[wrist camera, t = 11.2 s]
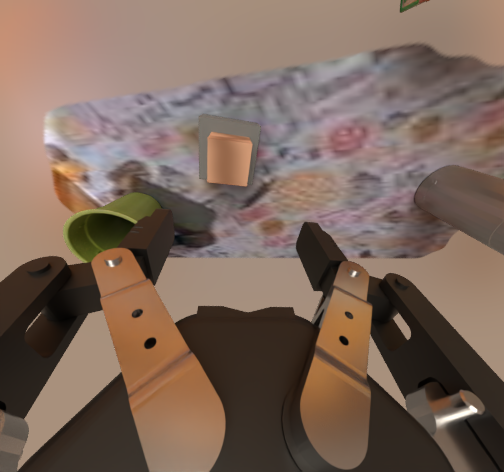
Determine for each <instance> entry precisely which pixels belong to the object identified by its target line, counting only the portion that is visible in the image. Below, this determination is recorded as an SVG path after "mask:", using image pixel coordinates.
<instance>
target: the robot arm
mask: <svg viewBox="0 0 504 472" xmlns="http://www.w3.org/2000/svg"><path fill="white" fill-rule="evenodd" d="M415 203H416V205H417V206H418V207H420V208H422V209H423V210H425V211H427V212H429V213H430V214H432V215H434V216H436V217H437V218H439V219H441V220H443V221H444V222H446V223H448V224H450V225H451V226H453V227H455V228H457V229H458V230H460V231H462V232H464V233H465V234H467V235H469V236H471V237H473V238H474V239H476V240H478V241H480V242H481V243H483V244H485V245H487V246H488V247H490V248H492V249H494V250H496V251H498V252H499V253H501V254H503V255H504V179H501V178H498V177H494V176H491V175H487V174H484V173H481V172H478V171H474V170H471V169H467V168H464V167H460V166H456V165H451V166H446V167H443V168H441V169H439V170H437V171H435V172H434V173H432V174H431V175H430V176H428V177H427V178H426V179H425V180H424V181H423V183H422V184H421V185H420V187H419V188H418V190H417V192H416V195H415ZM173 242H174V224H173V215H172V211H171V210H170V209H159V208H157V209H155V211H154V212H153V214H152V215H151V216H145V217H144V218H142V219H140V220H138V221H137V223H136V224H135V225H134V227H133V228H132V229H131V230H130V232H129V233H128V234H127V235H126V236H125V238H124V239H123V240H122V241H121V243H120V244H119V245H118V246H117V248H113V249H109V250H106V251H103V252H101V253H100V254H98V255H97V256H96V257H94V259H93V260H92V262H87V263H81V264H74V265H67V263H66V261H65V260H64V259H63V258H61V257H57V256H49V257H42V258H38V259H35V260H32V261H29V262H27V263H25V264H23V265H21V266H20V267H18V268H17V269H16V270H15V271H13V272H12V273H11V274H10V275H9V276H7V277H6V278H5V279H4V280H3V281H1V282H0V472H504V382H503V381H502V380H501V379H500V378H499V377H498V376H497V374H496V373H495V372H494V371H493V370H492V369H491V368H490V367H489V366H488V365H487V364H486V362H485V361H484V360H483V359H482V358H481V357H480V356H479V355H478V354H477V353H476V352H475V351H474V350H473V348H472V347H471V346H470V345H469V344H468V343H467V342H466V341H465V340H464V339H463V338H462V337H461V335H460V334H459V333H458V332H457V331H456V330H455V329H454V328H453V327H452V326H451V325H450V323H449V322H448V321H447V320H446V319H445V318H444V317H443V316H442V315H441V314H440V313H439V311H438V310H437V309H436V308H435V307H434V306H433V305H432V304H431V303H430V302H429V301H428V300H427V298H426V297H425V296H424V295H423V294H422V293H421V292H420V291H419V290H418V289H417V288H416V286H415V285H414V284H413V283H412V282H410V281H409V280H408V279H406V278H404V277H402V276H400V275H398V274H394V273H389V274H387V275H386V276H385V277H384V278H383V279H379V278H375V277H372V276H369V274H368V272H367V271H366V270H365V269H364V268H363V267H361V266H360V265H359V264H357V263H354V262H351V261H348V260H347V258H346V257H345V256H344V254H343V253H342V251H341V250H340V249H339V247H337V244H336V243H334V240H333V239H332V238H331V236H330V235H328V234H327V233H326V232H325V231H323V230H322V229H321V228H320V226H319V225H318V223H313V222H304V223H303V226H302V228H301V231H300V234H299V237H298V239H297V243H296V250H297V252H298V255H299V257H300V259H301V262H302V264H303V267H304V269H305V271H306V274H307V276H308V278H309V280H310V283H311V285H312V288H313V290H314V291H322V292H323V295H322V297H321V299H320V301H319V304H318V306H317V309H316V311H315V314H314V317H313V319H312V321H311V322H310V321H308V320H306V319H304V318H302V317H299V316H297V315H295V314H294V310H293V307H269V308H265V309H261V310H257V311H253V312H243V311H239V310H235V309H231V308H227V307H224V306H198V311H197V314H194V315H191V316H188V317H185V318H184V319H181V320H179V321H178V322H176V323H174V321H173V320H172V318H171V316H170V314H169V313H168V311H167V309H166V307H165V306H164V303H163V302H162V300H161V298H160V296H159V295H158V293H157V291H156V289H155V287H154V286H153V285H155V284H156V282H157V279H158V276H159V275H160V272H161V270H162V267H163V265H164V263H165V261H166V258H167V256H168V254H169V251H170V249H171V247H172V244H173ZM100 310H103V311H104V315H105V318H106V321H107V325H108V328H109V331H110V335H111V338H112V341H113V345H114V348H115V351H116V354H117V358H118V361H119V364H120V368H121V371H122V372H121V373H120V374H119V375H118V376H117V377H115V378H114V379H113V380H112V381H111V382H110V383H109V384H108V385H107V386H106V387H105V388H104V389H103V390H102V391H101V392H99V394H97V395H96V396H95V397H94V398H93V399H92V400H91V401H90V402H89V403H88V404H87V405H86V406H85V407H84V408H82V409H81V410H80V411H79V412H78V413H77V414H76V415H75V416H74V417H73V418H72V419H71V420H70V421H69V422H68V423H66V424H65V425H64V426H63V427H62V428H61V429H60V430H59V431H58V432H57V433H56V434H55V435H54V436H53V437H52V438H51V439H49V440H48V441H47V442H46V443H45V444H44V445H43V446H42V447H41V448H40V449H39V450H38V451H37V452H36V453H35V454H34V455H33V456H31V457H30V458H29V459H28V460H27V462H26V463H25V464H24V465H23V466H22V467H21V468H20V469H19V470H18V471H17V467H18V461H19V460H20V458H21V456H22V453H23V448H24V446H25V443H26V441H27V438H28V432H29V428H28V424H27V422H26V421H25V420H24V418H25V417H26V415H27V413H28V412H29V410H30V408H31V407H32V405H33V404H34V402H35V400H36V398H37V397H38V395H39V394H40V392H41V390H42V389H43V387H44V386H45V384H46V382H47V381H48V379H49V377H50V376H51V374H52V372H53V371H54V369H55V367H56V365H57V364H58V362H59V361H60V359H61V358H62V356H63V354H64V352H65V351H66V349H67V348H68V346H69V344H70V343H71V341H72V339H73V338H74V336H75V334H76V333H77V331H78V330H79V328H80V326H81V324H82V323H83V321H84V320H85V318H86V317H87V315H88V313H92V312H96V311H100ZM40 312H41V314H40V316H39V317H38V318H37V319H36V321H35V322H34V323H33V325H32V326H31V327H30V328H29V329H28V330H27V328H28V326H29V325H30V324H31V323H32V322H33V320H34V319H35V318H36V317H37V316H38V314H39V313H40ZM398 313H399V314H400V315H401V316H402V318H403V319H404V320H405V322H406V323H407V325H408V326H409V328H410V330H411V337H410V339H409V340H407V339H406V338H405V336H404V335H403V333H402V332H401V330H400V329H399V327H398V326H397V324H396V323H395V321H394V320H393V318H394V316H396V315H397V314H398ZM26 330H27V332H26ZM25 332H26V333H25ZM370 334H371V336H372V338H373V340H374V342H375V343H376V346H377V348H378V349H379V351H380V353H381V355H382V357H383V359H384V361H385V363H386V364H387V366H388V368H389V370H390V372H391V374H392V376H393V377H394V379H395V381H396V383H397V385H398V387H399V389H400V391H401V393H402V394H403V396H404V398H405V400H406V408H407V411H406V410H405V409H404V408H403V407H402V406H401V405H400V404H399V403H398V402H397V401H396V400H395V399H394V398H392V396H390V395H389V394H388V393H387V392H386V391H385V390H384V389H383V388H382V387H381V386H380V385H379V384H378V383H377V382H376V381H374V380H373V379H372V378H371V377H370V376H369V375H368V374H367V366H368V353H369V340H370Z"/></svg>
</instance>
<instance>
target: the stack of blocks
mask: <svg viewBox="0 0 504 472" xmlns="http://www.w3.org/2000/svg"><path fill="white" fill-rule="evenodd" d="M425 1H426V2H427V1H429V0H401V3H400V12H401V13H402V12H404V11H406V10H408V9H410V8H412V7H414V6H417V5H419V4H421V3H423V2H425Z"/></svg>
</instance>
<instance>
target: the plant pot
mask: <svg viewBox="0 0 504 472" xmlns="http://www.w3.org/2000/svg"><path fill="white" fill-rule="evenodd" d="M157 208H159V209H162V208H161V206H160V204H159V203H158V202H157V201H156V200H155V199H154V198H152V197H151V196H149V195H146V194H142V193H130V194H127V195H125V196H123V197H121V198H119V199H117V200H115V201H113V202H111V203H109V204H107V205H105V206H103V207H100V208H97V209H91V210H85V211H81V212H78V213H76V214H74V215H73V216H71V217H70V218H69V219H68V220H67V221H66V223H65V225H64V228H63V235H64V240H65V243H66V245H67V247H68V248H69V250H70V251H71V252H72V253H73V254H74V255H75V256H76V257H77V258H78V259H80V260H81V261H82V262H84V263H87V262H92V260H93V259H94V257H96V256H97V255H98V254H100V253H101V252H103V251H106V250H109V249H113V248H117V246H118V245H119V244H120V243H121V241H122V240H123V239H124V238H125V236H126V235H127V234H128V233H129V232H130V230H131V229H132V228H133V227H134V225H135V224H136V223H137V221H138V220H140V219H142V218H144V217H145V216H151V215H152V214H153V212H154V211H155V209H157Z"/></svg>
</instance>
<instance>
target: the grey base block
mask: <svg viewBox="0 0 504 472" xmlns="http://www.w3.org/2000/svg"><path fill="white" fill-rule="evenodd" d="M260 130H261V126H260V125H259V124H257V123H254V122H248V121H242V120H236V119H230V118H225V117H219V116H213V115H207V114H202V115H200V116H199V179H204V180H207V147H208V136H209V135H210V133H211V132H217V133H224V134H230V135H237V136H244V137H249V138H250V140H251V142H252V152H251V159H250V167H249V174H248V182H247V184H248V185H252V182H253V175H254V169H255V162H256V156H257V149H258V143H259V136H260Z"/></svg>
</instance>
